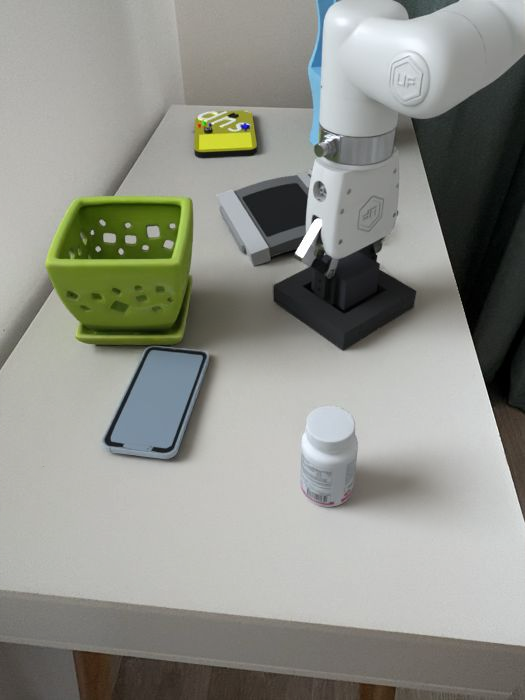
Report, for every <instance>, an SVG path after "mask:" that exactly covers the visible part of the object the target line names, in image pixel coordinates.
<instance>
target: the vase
mask: <svg viewBox="0 0 525 700" xmlns="http://www.w3.org/2000/svg"><path fill="white" fill-rule="evenodd" d="M338 1H341V0H315V5H316V13H317V34H316V40H315V44H314V48H313V52H312V54H311V57H310V60H309V62H308V65H307V75H308V80H309V84H310V90H311V98H312V107H313V108H312V109H313V112H312V113H313V114H312V124H311V130H310V135H309V139H308V141H309V143H310V144H311V145H312V146H313V147H314V146H315V145H316V144H317V143H319V117H320V93H321V68H322V43H323V25H324V18H325V15H326V13H327V11H328V9H329V8H330V7H331V6H332V5H333V4H334V3H336V2H338Z"/></svg>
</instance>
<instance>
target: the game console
mask: <svg viewBox="0 0 525 700" xmlns="http://www.w3.org/2000/svg"><path fill="white" fill-rule="evenodd" d="M256 137H257V136H256V131H255V124H254V117H253V112H252V111H250V110H246V109H244V110H243V109H241V110H240V109H239V110H219V111H205V112H203V113H201V114H198V115H197V116H196V117H195V119H194V139H193V140H194V141H193V145H194V146H193V151H194V156H195V157H196V158H199V159H210V158H212V159H213V158H229V157H230V158H233V157H250V156H254V155H256V154H257V153H258V143H257V138H256Z"/></svg>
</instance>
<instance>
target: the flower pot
mask: <svg viewBox="0 0 525 700" xmlns="http://www.w3.org/2000/svg"><path fill="white" fill-rule="evenodd" d="M100 221H103V222H104V223H105V224H104V225H103V224H102V223H101V222H100ZM126 224H130V226H129V227H127V225H126ZM172 224H174V225H175V226H174V227H171V225H172ZM149 227H157V228H158V231H159V236H153V237H152V236H151V237H150V236H149V233H148V228H149ZM56 229H57V230H56V232H55V234H54V236H53V238H52V241H51V243H50V246H49V249H48V251H47V255H46V259H45V263H44V266H45V268H46V272H47V274H48V277H49V280H50V282H51V283H52V286H53V288H54V290H55V293H56V295H57V296H58V298H59V299H60V301H61V302H62V304H63V305H64V307H65V308H66V309H67V310H68V312H69V313H70V315H72V316H73V317H74V318H75V319H76V320H77V321H78V326H77V329H76V331H75V339H76V340H77V341H79V342H81V343H83V344H86V345H95V346H97V345H98V346H173V345H176V344H178V343H180V342H181V341H182V340H183V338H184V334H185V331H186V330H185V329H186V325H187V318H188V313H189V308H190V301H191V295H192V288H193V276H192V275H190V273H191V265H192V255H193V241H194V204H193V200H192V198H190V197H188V196H177V195H174V196H173V195H98V196H80V197H76V198H74V199H73V200H72V201H71V203H70V205H69V206H68V208H67V210H66V212H65V213H64V215H63V217H62V219H61V220H60V223H59V225H58V227H57V228H56ZM91 231H92V232H93V234H92V232H91ZM104 234H113V235H115V242H107V241H104ZM127 236H132V237H135V240H136V241H135V242H134V243H129V242H128V243H127V242H126V237H127ZM166 241H170V242H172V247H171V248H168V247H166V246H164V245H165V244H166ZM144 246H147V247H148V248H147V249H143V247H144ZM97 247H99V248H100V250H99V251H97V249H96V248H97ZM119 250H122V251H123V252H122V254H121V253H120V252H119Z"/></svg>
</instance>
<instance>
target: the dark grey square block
mask: <svg viewBox="0 0 525 700" xmlns="http://www.w3.org/2000/svg"><path fill="white" fill-rule="evenodd" d="M328 259H329V255H327V254H326V253H325V254H324V256H323V260H322V261H323V262H325V263H326V264H327V262H328ZM379 269H381V263H380V262H378V261H377V262H376V261H374V260H373V259H371V258H369V257H367V256H365V255H364V254H362V253H360V252H358V251H356V252H354V253H352V254H350V255H348V256H346V257H343V258H340V259H339V261H338V265H337V268H336V271H335V274H337V275H338V290H337V301H336V303H335V305H336V306H338V307H340V308H341V309H343V310H345V309H347V308H349V307H351V306H352V305H354V304H356V303H358V302H359V301H361V300H363V299H365V298H366V297H368V296H370V295H372V294H373V293H375V292H377V285H378V276H379ZM314 282H315V269H313V268H312V286H311V289H312V290H313V291H314Z"/></svg>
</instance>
